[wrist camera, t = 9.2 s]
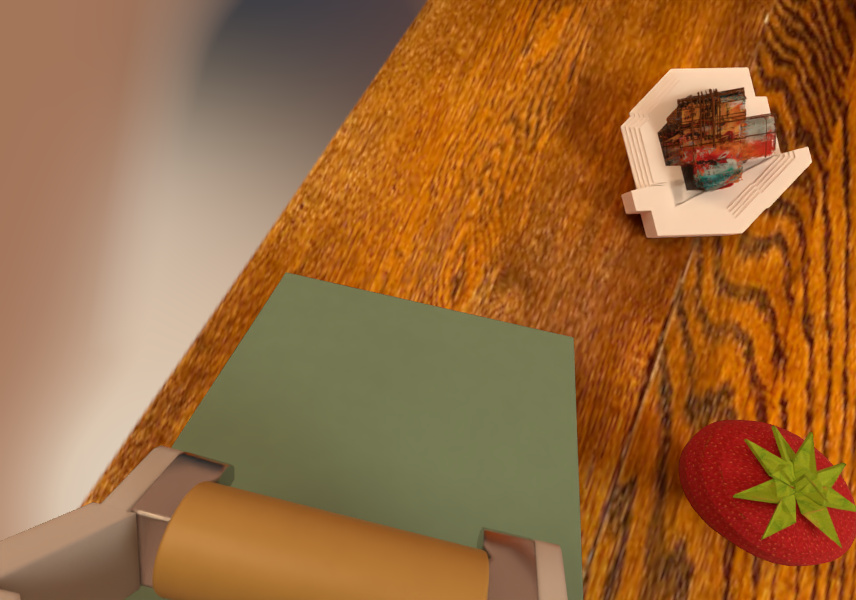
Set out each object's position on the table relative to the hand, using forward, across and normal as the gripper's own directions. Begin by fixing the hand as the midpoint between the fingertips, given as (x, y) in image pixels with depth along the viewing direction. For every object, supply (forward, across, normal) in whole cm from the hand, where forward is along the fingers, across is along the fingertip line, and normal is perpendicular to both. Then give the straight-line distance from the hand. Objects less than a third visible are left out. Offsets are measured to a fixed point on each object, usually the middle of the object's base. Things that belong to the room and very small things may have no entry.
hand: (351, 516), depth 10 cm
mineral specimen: (+32, -15, -4) cm, 36 cm away
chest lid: (+4, 0, +3) cm, 5 cm away
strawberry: (+17, -17, +10) cm, 26 cm away
